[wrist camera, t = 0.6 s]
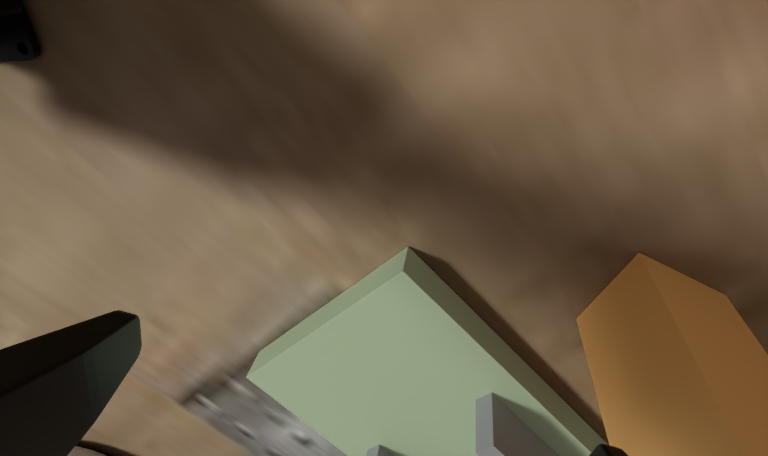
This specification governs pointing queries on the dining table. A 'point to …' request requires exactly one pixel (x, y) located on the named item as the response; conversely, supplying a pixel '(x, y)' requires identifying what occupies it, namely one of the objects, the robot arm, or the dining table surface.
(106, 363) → the robot arm
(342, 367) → the pale green pegged block
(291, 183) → the dining table surface
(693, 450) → the tan tall rectangular block
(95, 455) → the decorative figurine
